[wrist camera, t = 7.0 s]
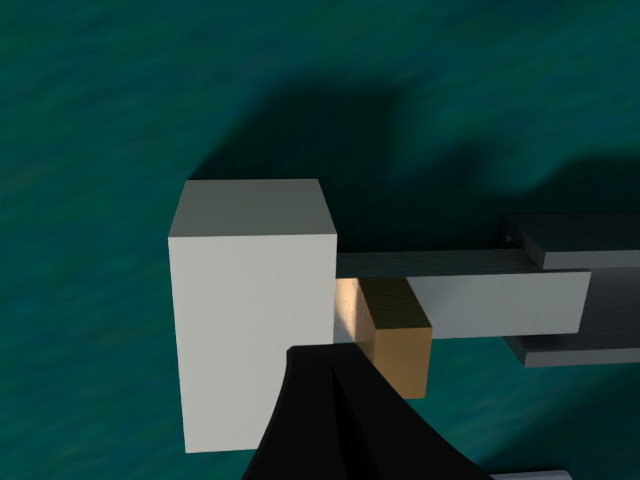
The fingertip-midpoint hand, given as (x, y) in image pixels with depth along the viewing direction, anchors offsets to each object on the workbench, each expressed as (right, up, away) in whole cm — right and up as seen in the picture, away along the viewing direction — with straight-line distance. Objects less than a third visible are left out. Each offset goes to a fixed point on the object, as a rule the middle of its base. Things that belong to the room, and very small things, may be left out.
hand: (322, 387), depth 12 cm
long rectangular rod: (+3, +1, +10) cm, 11 cm away
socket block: (-2, +2, +10) cm, 11 cm away
